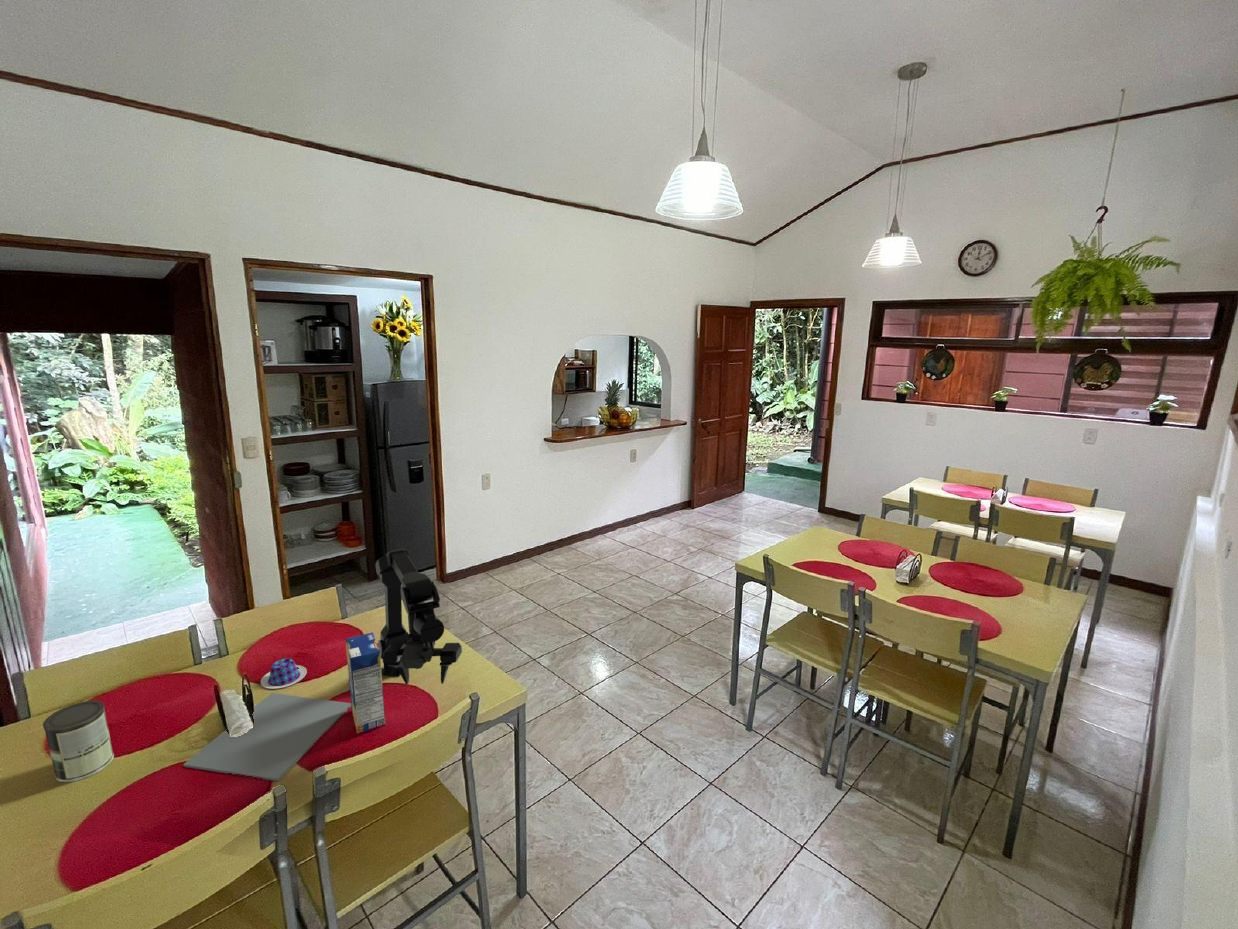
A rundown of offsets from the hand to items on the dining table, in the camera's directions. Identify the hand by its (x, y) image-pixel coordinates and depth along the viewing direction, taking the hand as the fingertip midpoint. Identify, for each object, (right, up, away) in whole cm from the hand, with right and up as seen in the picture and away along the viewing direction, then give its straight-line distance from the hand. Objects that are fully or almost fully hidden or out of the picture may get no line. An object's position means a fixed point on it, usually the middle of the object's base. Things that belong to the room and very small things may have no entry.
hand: (425, 683), depth 145 cm
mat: (-39, -13, 0) cm, 41 cm away
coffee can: (-76, -15, -12) cm, 79 cm away
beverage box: (-18, -12, +7) cm, 23 cm away
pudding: (-51, -8, +23) cm, 56 cm away
